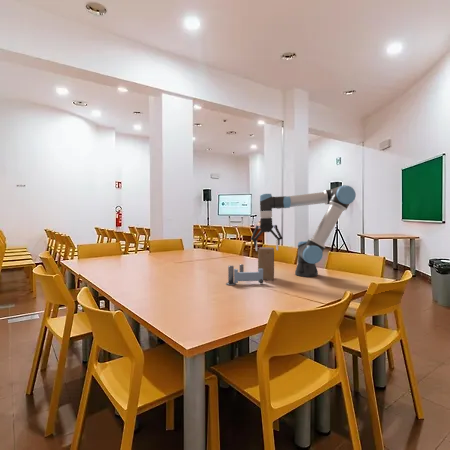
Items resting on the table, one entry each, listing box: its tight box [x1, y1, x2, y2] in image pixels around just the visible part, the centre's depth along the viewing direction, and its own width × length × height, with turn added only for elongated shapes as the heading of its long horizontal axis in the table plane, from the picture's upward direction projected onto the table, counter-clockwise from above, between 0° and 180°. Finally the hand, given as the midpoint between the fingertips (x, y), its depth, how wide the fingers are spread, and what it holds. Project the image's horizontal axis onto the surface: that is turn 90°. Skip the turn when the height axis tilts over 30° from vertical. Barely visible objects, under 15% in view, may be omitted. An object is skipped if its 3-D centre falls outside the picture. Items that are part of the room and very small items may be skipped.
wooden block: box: [257, 246, 275, 281], centre depth 201 cm, size 10×10×20 cm
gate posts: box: [225, 263, 245, 286], centre depth 194 cm, size 6×23×11 cm, turn 157°
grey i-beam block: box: [234, 268, 264, 284], centre depth 186 cm, size 17×3×8 cm, turn 93°
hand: (266, 250), depth 201 cm, fingers open, 13 cm apart
